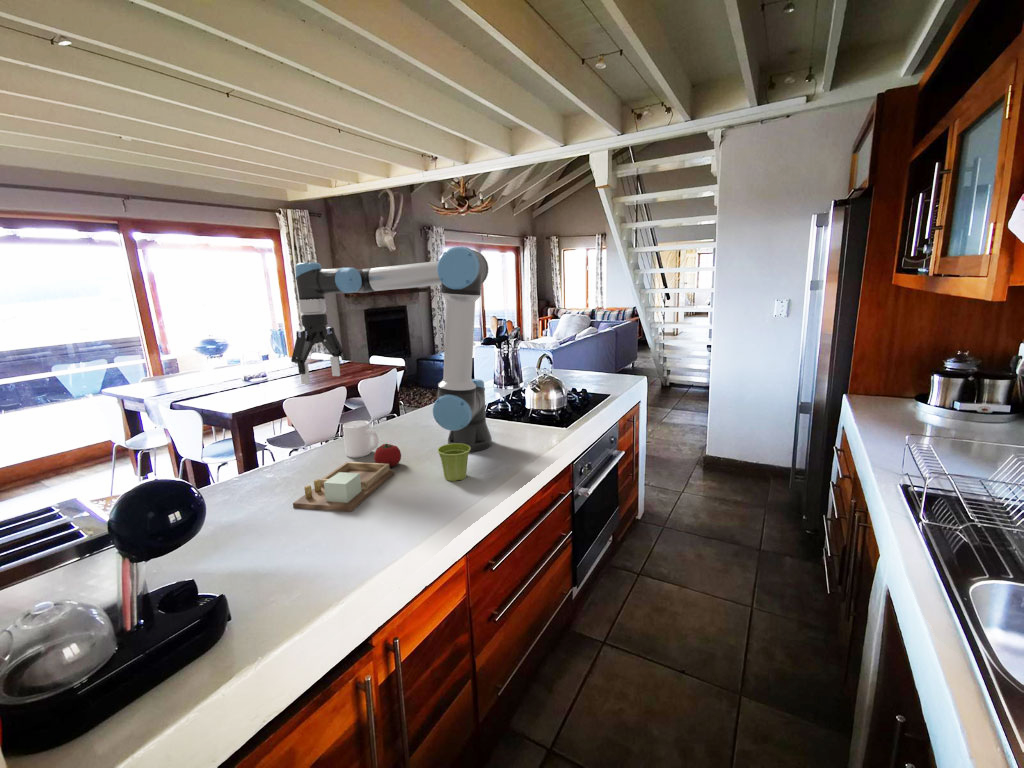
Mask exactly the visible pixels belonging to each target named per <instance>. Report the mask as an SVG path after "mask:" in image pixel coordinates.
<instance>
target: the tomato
mask: <svg viewBox="0 0 1024 768" xmlns="http://www.w3.org/2000/svg"><path fill="white" fill-rule="evenodd" d="M401 459H402V453H401V450H400V448H399V447H398V446H397V445H393V444H392V443H391V444H390V443H383V444H381V445H380V446H379V447H378V446H377V447H376V449H375V452H374V455H373V460H374V463H383V464H389V468H393V467H396V466H397V465H398V464H399V463H400V462H401Z"/></svg>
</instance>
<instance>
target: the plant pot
mask: <svg viewBox="0 0 1024 768" xmlns="http://www.w3.org/2000/svg"><path fill="white" fill-rule="evenodd" d="M470 449H471V447H470V446H469V445H466V444H462V443H453V444H448V443H447V444H443V445H441V446H439V447H438V448H437V453H438V454H439V457H440V461H441V466H442V470H443V471H442V472H443V476H444V478H445V480H447V481H448V482H449V481H450V482H457V481H462V480H465V479H466V477H467V472H468V471H467V470H468V459H469V454H470V452H469V451H470Z"/></svg>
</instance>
